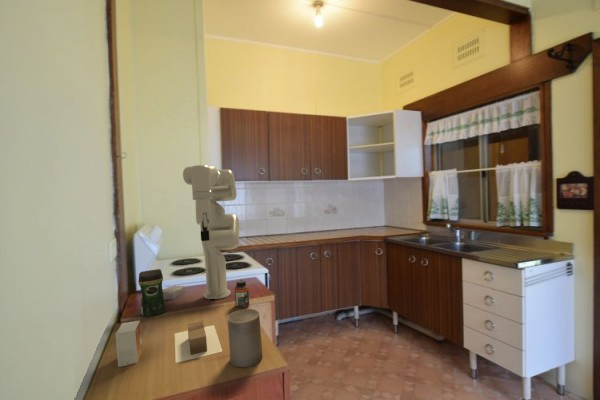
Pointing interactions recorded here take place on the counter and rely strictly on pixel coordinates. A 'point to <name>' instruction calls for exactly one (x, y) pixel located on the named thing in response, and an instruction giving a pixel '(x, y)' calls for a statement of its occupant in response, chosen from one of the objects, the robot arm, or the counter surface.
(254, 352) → the pillar candle
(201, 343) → the walnut block
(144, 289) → the coffee jar
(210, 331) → the cream mat
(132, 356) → the small box
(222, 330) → the counter surface
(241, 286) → the supplement bottle
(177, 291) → the stone block
